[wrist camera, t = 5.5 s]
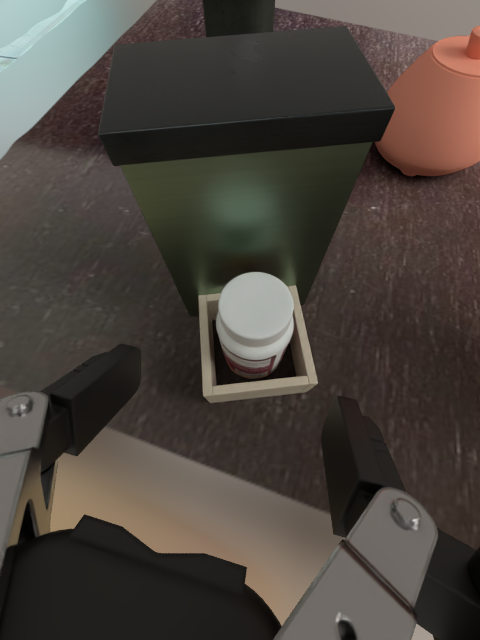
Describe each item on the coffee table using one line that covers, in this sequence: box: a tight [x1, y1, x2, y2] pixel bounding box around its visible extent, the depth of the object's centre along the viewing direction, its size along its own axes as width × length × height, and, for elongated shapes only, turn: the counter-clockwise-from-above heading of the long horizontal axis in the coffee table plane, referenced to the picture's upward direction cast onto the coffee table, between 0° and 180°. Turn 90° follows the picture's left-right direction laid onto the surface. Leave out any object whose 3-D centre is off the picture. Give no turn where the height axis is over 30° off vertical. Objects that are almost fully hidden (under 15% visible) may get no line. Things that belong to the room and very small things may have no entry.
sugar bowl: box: [375, 26, 480, 176], centre depth 26 cm, size 12×14×10 cm
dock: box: [198, 285, 318, 403], centre depth 20 cm, size 7×7×4 cm
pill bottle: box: [216, 272, 294, 379], centre depth 18 cm, size 5×5×8 cm
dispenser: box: [98, 26, 395, 316], centre depth 17 cm, size 6×10×15 cm, turn 96°
